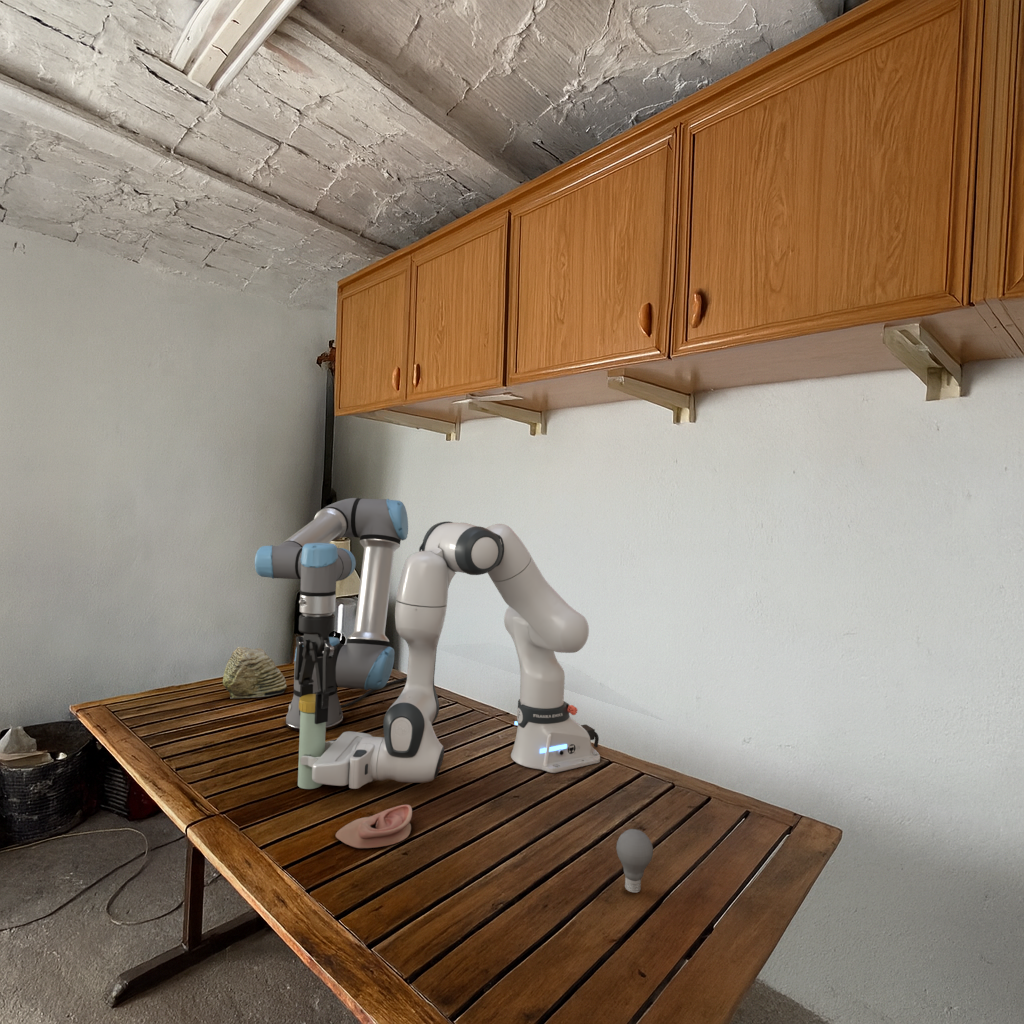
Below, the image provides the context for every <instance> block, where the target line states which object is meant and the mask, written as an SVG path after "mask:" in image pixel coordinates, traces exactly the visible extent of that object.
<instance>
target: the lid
mask: <svg viewBox="0 0 1024 1024" xmlns="http://www.w3.org/2000/svg"><path fill="white" fill-rule="evenodd" d="M315 699H316V694H308V695H304V696H302V697H300V699H299V710H300V711H302V712H307V713H315Z"/></svg>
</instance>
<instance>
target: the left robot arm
mask: <svg viewBox="0 0 1024 1024" xmlns="http://www.w3.org/2000/svg"><path fill="white" fill-rule="evenodd" d="M408 534H409V518H408V513H407V508H406V506H405V504H404V502H402V501H401V500H396V499H389V498H364V497H363V498H359V497H350V498H349V497H348V498H345V499H341V500H338V501H336V502H332V503H331V504H328V505H326V506H324V507H323V508H321V509H320V510H318V511H317V512H316V514H315V516H314V517H313V519H312V520H311V521H310V522H308V523H307V524H306V525H304V526H303V527H301V528H300V529H299V530H298V531H296V532H295V533H293V534H292V535H290V536H289V537H288V538H287V539H285V540H284V541H282V542H281V543H279V545H272V544H271V545H262V546H260V547H259V548H258V549H257V551H256V553H255V557H254V568H255V572H256V574H257V575H258V576H260V577H262V578H270V579H282V580H283V579H284V580H285V579H287V580H300V589H299V590H300V591H299V594H300V595H299V600H298V604H299V613H301V614H300V615H299V616H298V631H299V633H301V634H303V635H299V636H296V637H295V642H296V643H295V644H296V647H295V654H294V659H293V661H294V670H293V671H294V672H293V695H292V696H293V697H292V699H291V702H290V703H289V705H288V711H287V713H286V715H285V726H286V728H287V729H289V730H291V731H294V732H295V731H296V732H300V710H299V699H300V697H302V696H304V695H308V694H316V699H315V724H319V723H323V722H326V731H329V730H332V729H335V728H337V727H339V726H340V725H342V723H343V722H344V714H343V709H345V708H349V707H351V706H353V705H355V704H357V703H359V702H360V701H362V700H363V699H365V698H366V697H367V696H369V695H370V694H372V693H374V692H377V691H378V690H382V689H383V688H386V687H389V686H392V685H395V684H398V683H402V682H406V681H407V676H405V677H402V678H399V679H395V680H392V681H389V680H390V677H391V675H392V672H393V668H394V663H395V649H394V648H393V647H392V646H390V640H389V638H388V637H387V636H386V625H387V617H388V609H389V601H390V600H389V599H390V591H391V584H392V583H391V582H392V573H393V564H394V557H395V551H396V550H398V549H399V548H401V541H405V540H407V538H408ZM341 538H359V544H360V545H361V546H362V547H363V556H362V563H361V572H360V580H359V588H358V597H357V602H356V603H357V605H356V610H355V611H356V612H355V620H354V627H353V631H352V633H351V634H350V635H348V636H347V638H346V643H345V644H341V641H340V639H339V638H338V637H334V636H330V634H331V633H333V632H334V631H335V624H336V623H335V622H336V615H335V614H334V613H335V612H336V597H337V596H336V595H337V582H340V581H344V580H345V579H347V578H348V577H350V576H351V575H352V574H353V573H354V572H355V569H356V566H357V562H356V557H355V556H354V555H355V554H353V553H352V551H350V550H349V549H348V548H343V547H337V545H336V544H335V543H331V542H332V541H333V542H334V541H337V540H339V539H341ZM338 688H340V689H355V690H356V689H357V690H365V691H366V692H365V693H363V694H362V695H361V696H359V697H358V698H356V699H354V700H352V701H350V702H347V703H344V704H341V702H340V699H339V695H338Z"/></svg>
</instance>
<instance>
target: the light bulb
mask: <svg viewBox="0 0 1024 1024" xmlns="http://www.w3.org/2000/svg"><path fill="white" fill-rule="evenodd" d="M615 849H616V854H617V857H618V859H619V861H620V863H621V865H622V867H623V873H624V874H623V875H624V876H625V878H624V888H625V890H627V891H628V892H630V893H634V894H635V893H639V892H640V891H641V889H642V887H641V886H642V879H643V877H644V875H645V871H646V868H647V867H648V866H649V864H650V863H651V861H652V859H653V855H654V847H653V843H652V841H651V838H649V836H648V835H647V834H646V833H645V832H643V831H642V830H641V829H636V828H629V829H627V830H625V831H623V832H622V833H621V834H620V835H619V837H618V839H617V841H616V847H615Z"/></svg>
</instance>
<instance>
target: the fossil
mask: <svg viewBox="0 0 1024 1024" xmlns="http://www.w3.org/2000/svg"><path fill="white" fill-rule="evenodd" d="M222 676H223V677H222V685H223V687H224V688H225V690H226V691H228V693H229V698H230V699H250V698H264V697H271V696H275V695H281V694H284V693H285V691H286V689H287V687H288V686H287V680H286V678H285V676H284V674H283V673H282V672H281V669H279V668H278V667H277V665H276V663H275V662H274V660H273V659H272V658H271V657H270V656H269V655H268V654H267V653H266V652H265V650H264V649H263V648H260V647H258V648H251V647H247V646H246V647H245V646H238V647H237V648H236V649H235V650H233V651H232V653H231V656H230V657H229V659H228V660H227V663H226V666H225V668H224V671H223V675H222Z"/></svg>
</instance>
